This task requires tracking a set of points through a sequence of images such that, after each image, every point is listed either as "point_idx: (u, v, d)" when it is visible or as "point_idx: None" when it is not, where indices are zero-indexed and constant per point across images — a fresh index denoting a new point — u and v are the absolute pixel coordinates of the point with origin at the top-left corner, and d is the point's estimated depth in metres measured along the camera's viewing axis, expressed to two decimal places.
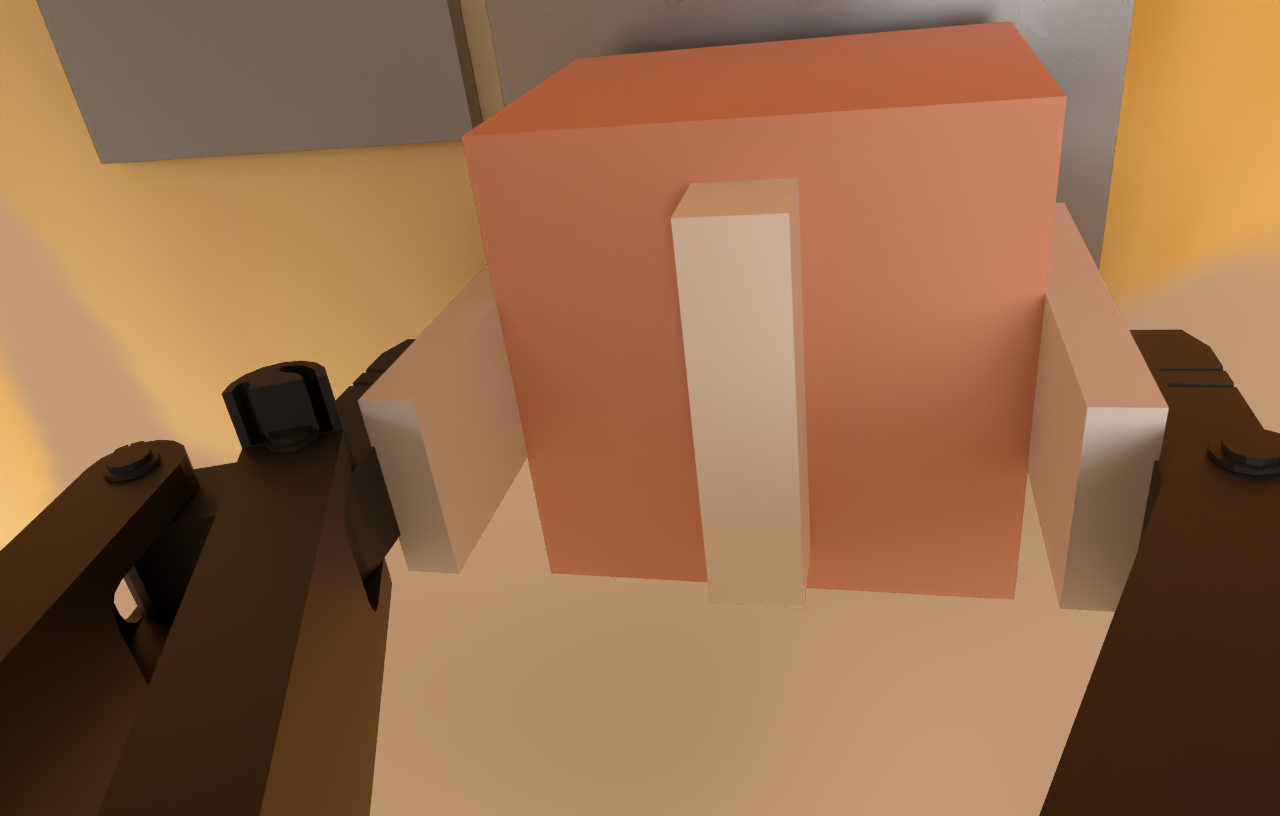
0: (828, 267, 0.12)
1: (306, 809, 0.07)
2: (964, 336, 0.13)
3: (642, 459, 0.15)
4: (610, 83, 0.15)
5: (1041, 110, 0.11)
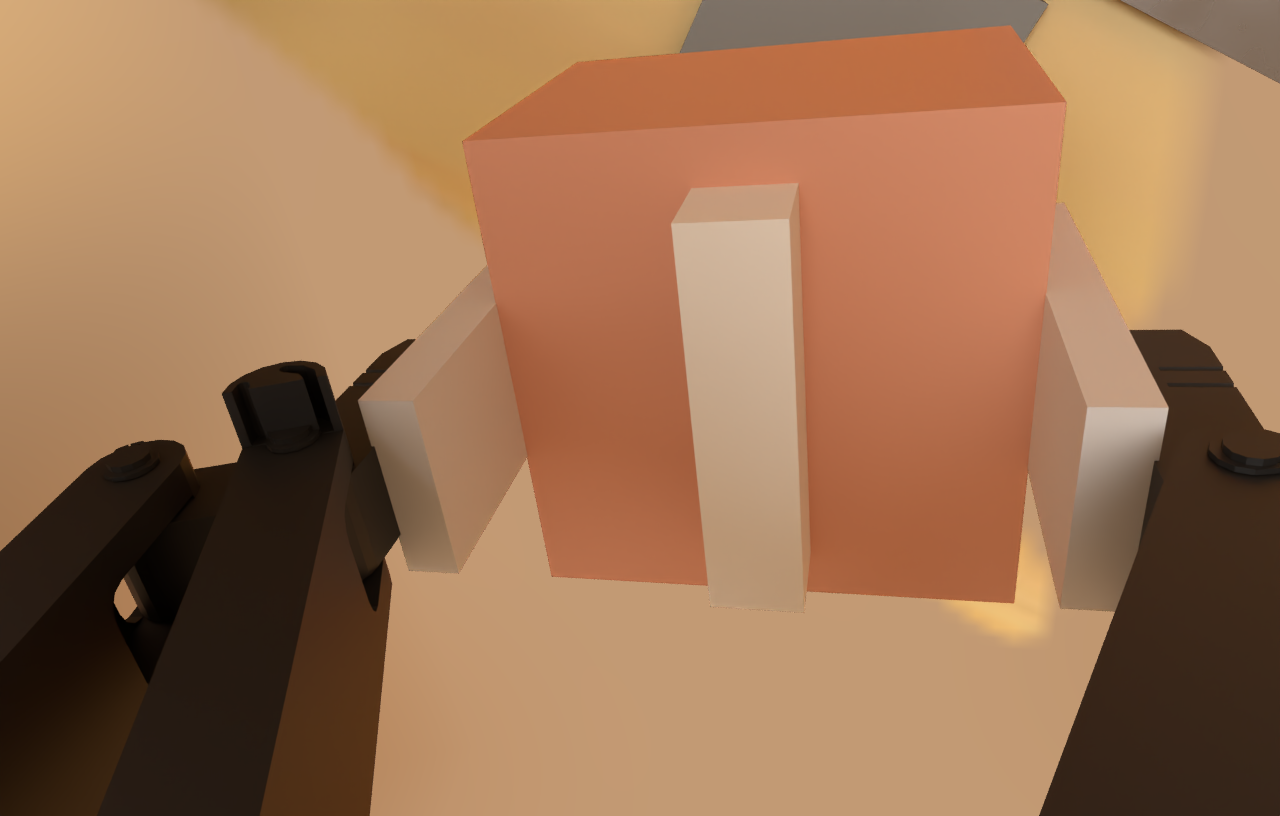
0: (828, 272, 0.13)
1: (306, 809, 0.07)
2: (964, 341, 0.13)
3: (642, 463, 0.15)
4: (610, 87, 0.15)
5: (1041, 116, 0.11)
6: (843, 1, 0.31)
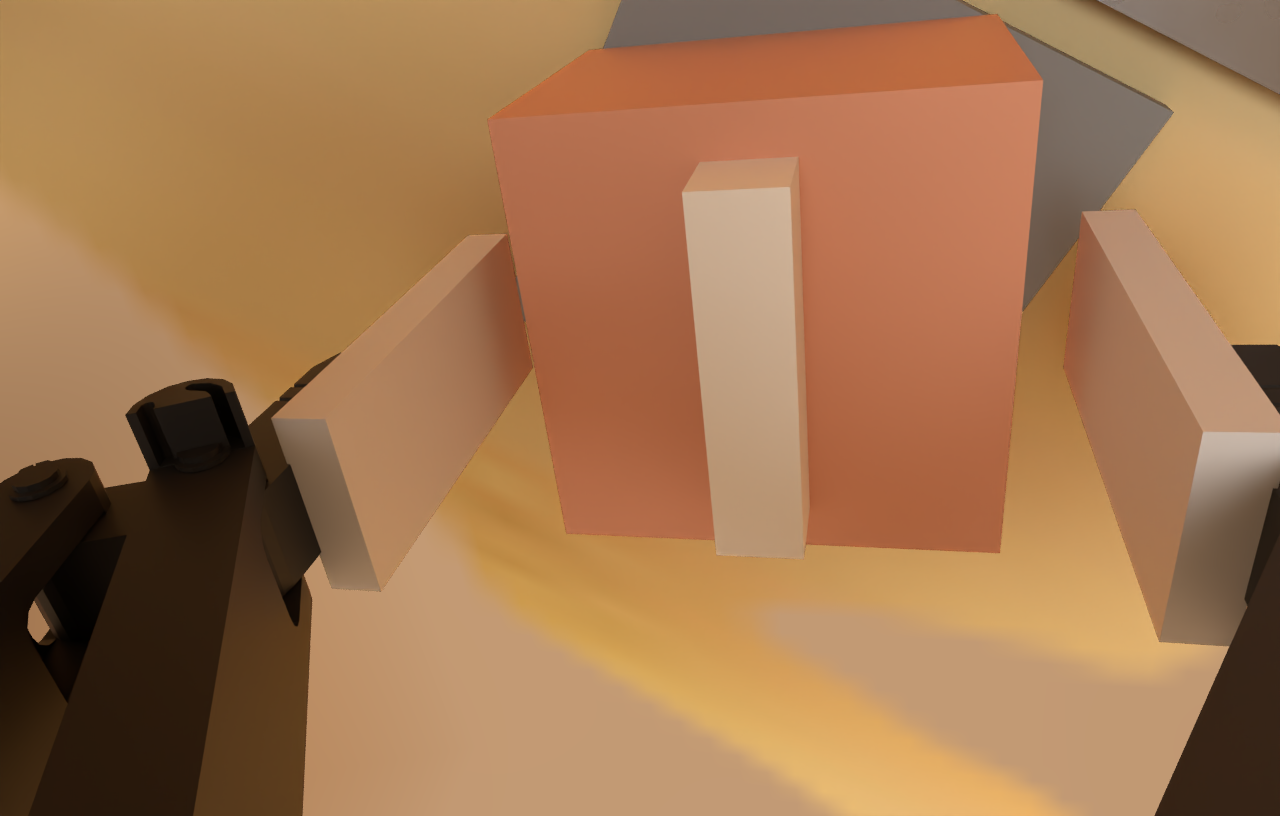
0: (826, 240, 0.14)
1: None
2: (952, 303, 0.14)
3: (652, 423, 0.16)
4: (622, 72, 0.16)
5: (1020, 93, 0.12)
6: None
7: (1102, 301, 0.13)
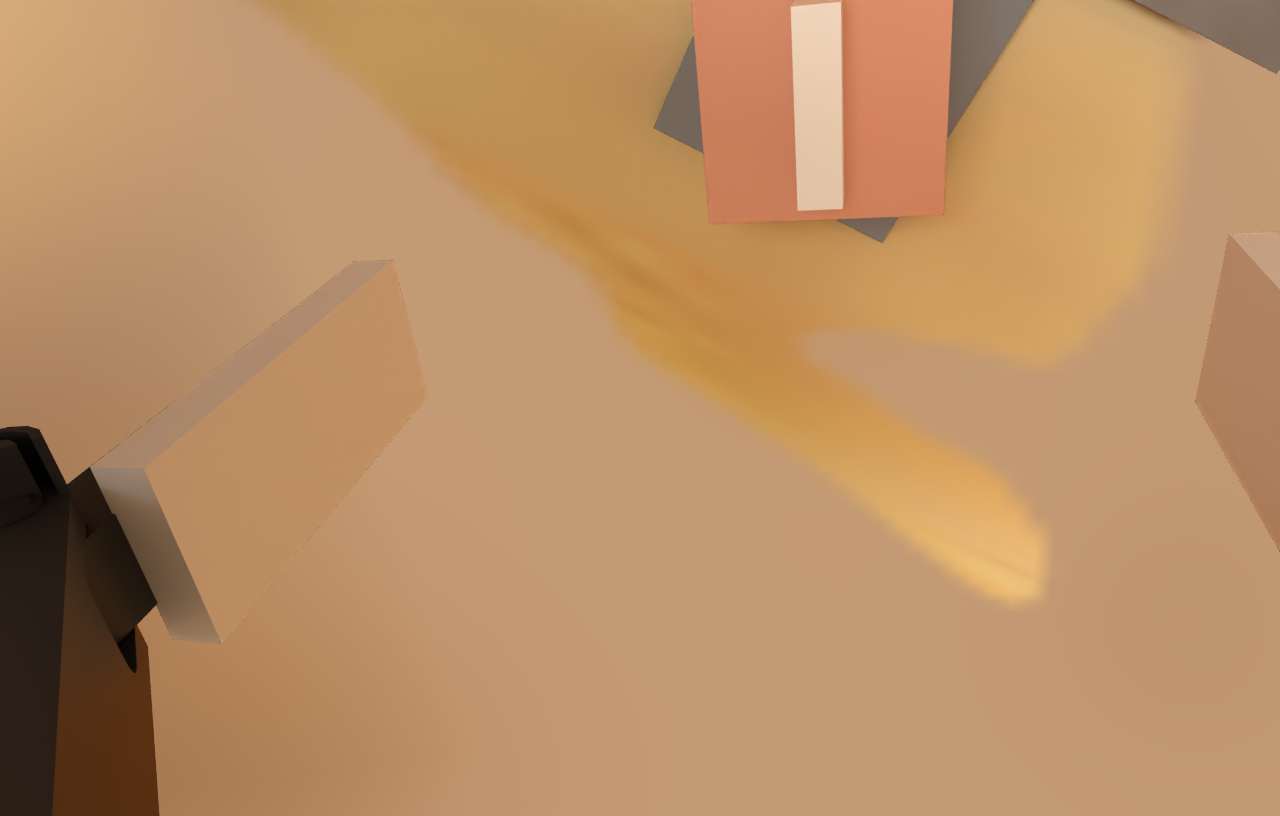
0: (855, 38, 0.28)
1: None
2: (916, 70, 0.28)
3: (762, 149, 0.30)
4: None
5: None
6: None
7: (1269, 336, 0.12)
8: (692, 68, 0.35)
